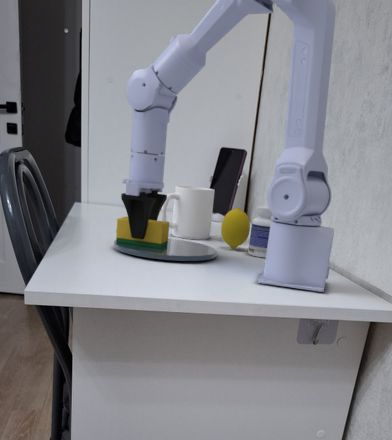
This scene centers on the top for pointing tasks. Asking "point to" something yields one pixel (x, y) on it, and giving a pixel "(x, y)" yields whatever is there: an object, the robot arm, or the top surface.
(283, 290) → the top surface
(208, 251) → the plate
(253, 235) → the pill bottle
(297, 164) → the robot arm
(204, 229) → the cup
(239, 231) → the lemon
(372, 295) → the top surface
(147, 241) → the sponge
